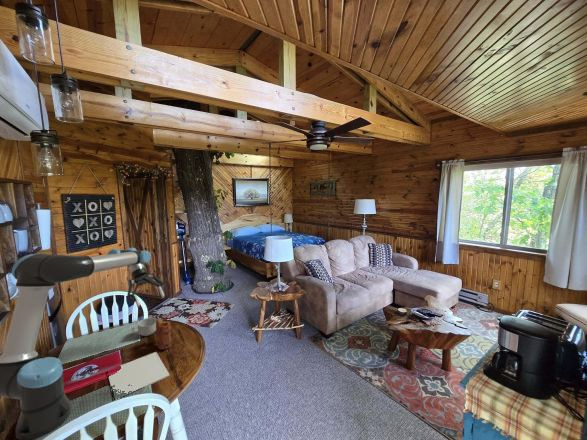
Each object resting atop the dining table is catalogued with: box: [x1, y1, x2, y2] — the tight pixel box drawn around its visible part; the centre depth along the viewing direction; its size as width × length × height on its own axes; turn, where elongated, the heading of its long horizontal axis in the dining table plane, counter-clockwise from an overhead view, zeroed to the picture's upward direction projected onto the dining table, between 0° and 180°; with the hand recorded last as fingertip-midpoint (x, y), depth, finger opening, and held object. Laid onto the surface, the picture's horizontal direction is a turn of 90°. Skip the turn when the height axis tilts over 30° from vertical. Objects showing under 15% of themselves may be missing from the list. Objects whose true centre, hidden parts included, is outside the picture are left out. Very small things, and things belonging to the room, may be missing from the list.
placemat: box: [108, 351, 171, 402], centre depth 120 cm, size 22×24×1 cm
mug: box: [155, 317, 174, 350], centre depth 142 cm, size 15×8×15 cm, turn 48°
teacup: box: [131, 317, 158, 337], centre depth 153 cm, size 14×11×8 cm
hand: (151, 301), depth 143 cm, fingers open, 13 cm apart
